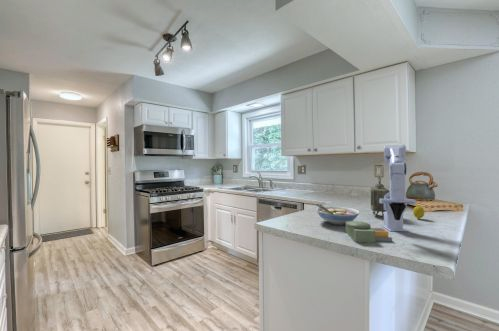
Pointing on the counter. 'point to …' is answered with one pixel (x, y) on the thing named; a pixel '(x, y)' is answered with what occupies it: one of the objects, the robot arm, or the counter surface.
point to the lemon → (418, 212)
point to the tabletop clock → (376, 195)
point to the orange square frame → (380, 232)
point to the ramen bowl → (337, 214)
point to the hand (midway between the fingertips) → (397, 219)
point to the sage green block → (363, 232)
